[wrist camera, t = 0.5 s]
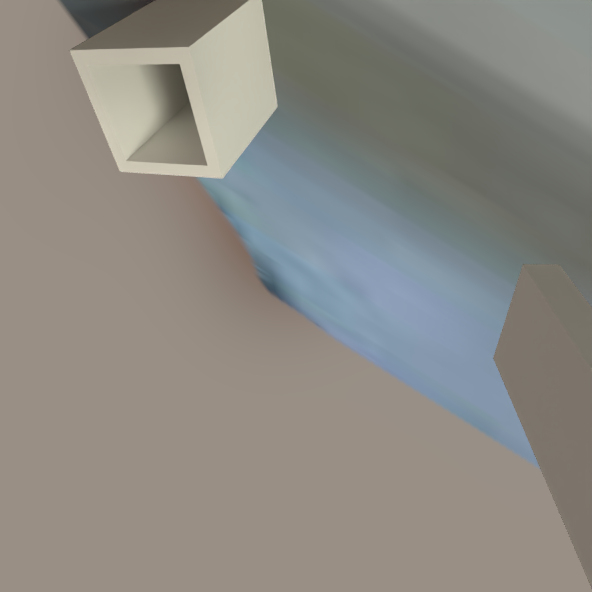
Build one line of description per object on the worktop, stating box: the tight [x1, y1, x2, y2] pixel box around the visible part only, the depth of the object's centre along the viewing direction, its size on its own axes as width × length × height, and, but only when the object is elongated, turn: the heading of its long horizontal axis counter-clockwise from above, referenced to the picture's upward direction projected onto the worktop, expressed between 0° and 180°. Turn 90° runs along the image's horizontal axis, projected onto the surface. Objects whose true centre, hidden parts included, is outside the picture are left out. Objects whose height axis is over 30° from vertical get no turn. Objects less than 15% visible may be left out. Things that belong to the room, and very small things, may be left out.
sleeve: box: [70, 0, 278, 178], centre depth 31 cm, size 7×7×10 cm
